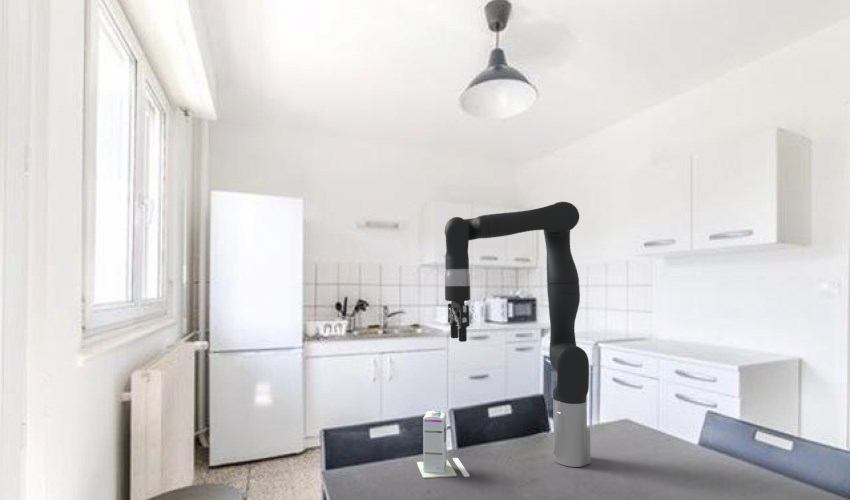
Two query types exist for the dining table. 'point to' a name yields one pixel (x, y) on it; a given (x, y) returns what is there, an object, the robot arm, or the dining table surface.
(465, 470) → the white line strip
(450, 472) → the mat
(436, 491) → the dining table surface
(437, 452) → the syrup box
